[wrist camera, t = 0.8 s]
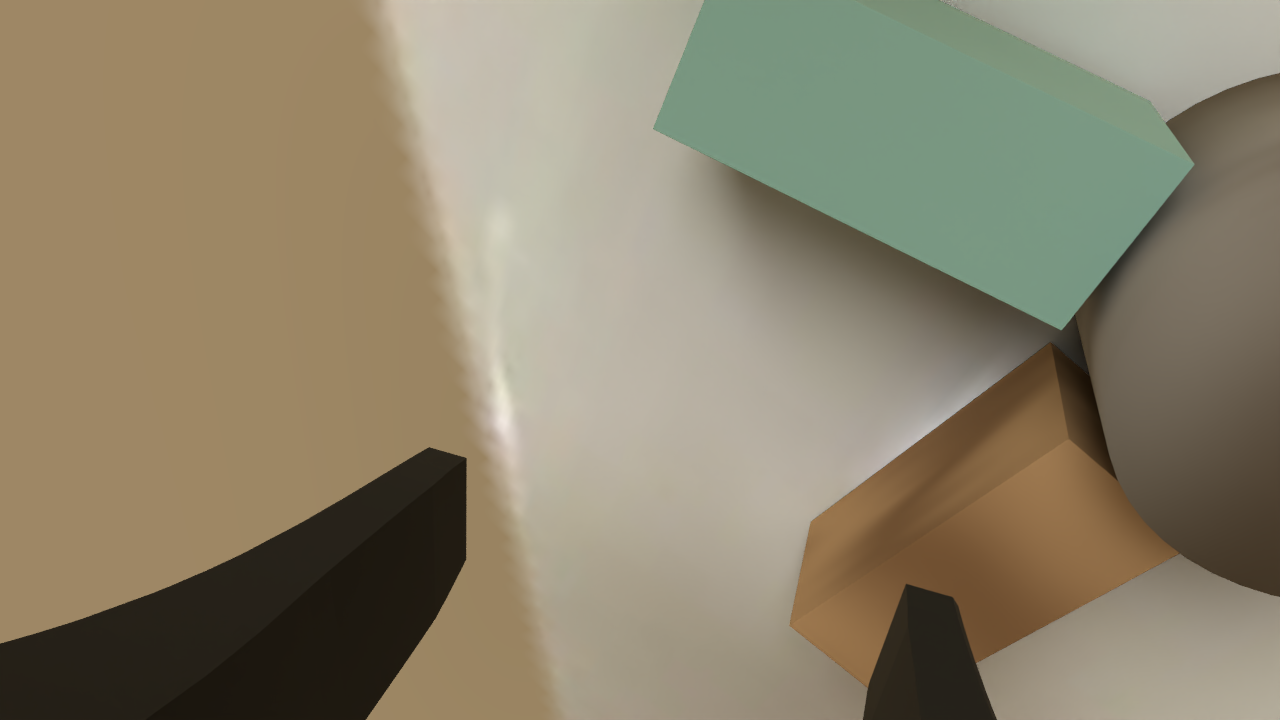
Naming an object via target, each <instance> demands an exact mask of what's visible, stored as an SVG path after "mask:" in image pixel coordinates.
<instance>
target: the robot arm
mask: <svg viewBox="0 0 1280 720" xmlns="http://www.w3.org/2000/svg"><path fill="white" fill-rule="evenodd" d="M465 561H466V458H465V457H461V456H457V455H454V454H450V453H447V452H444V451H440V450H436V449H433V448H430V447H429V448H427V449H425V450H424V451H422V452H420V453H418V454H417V455H415V456H413V457H412V458H410V459H408V460H407V461H405V462H403V463H402V464H400V465H399V466H397V467H395V468H393V469H392V470H390V471H388V472H387V473H385V474H383V475H382V476H380V477H378V478H377V479H375V480H373V481H372V482H370V483H368V484H367V485H365V486H363V487H362V488H360V489H359V490H357V491H355V492H353V493H352V494H350V495H348V496H347V497H345V498H343V499H342V500H340V501H338V502H336V503H335V504H333V505H331V506H330V507H328V508H326V509H324V510H323V511H321V512H319V513H317V514H316V515H314V516H312V517H311V518H309V519H307V520H305V521H304V522H302V523H300V524H298V525H296V526H294V527H293V528H291V529H289V530H287V531H285V532H283V533H281V534H279V535H277V536H275V537H274V538H272V539H270V540H268V541H266V542H264V543H262V544H260V545H258V546H256V547H254V548H253V549H251V550H249V551H247V552H245V553H243V554H241V555H239V556H237V557H235V558H233V559H231V560H229V561H226V562H225V563H222V564H220V565H218V566H216V567H213V568H211V569H209V570H207V571H205V572H203V573H200V574H198V575H195V576H193V577H191V578H188V579H186V580H184V581H181V582H179V583H177V584H174V585H172V586H170V587H167V588H165V589H162V590H160V591H157V592H155V593H152V594H149V595H147V596H144V597H141V598H138V599H136V600H133V601H130V602H127V603H125V604H122V605H119V606H117V607H114V608H111V609H108V610H105V611H103V612H100V613H97V614H94V615H92V616H89V617H86V618H83V619H80V620H78V621H74V622H72V623H68V624H65V625H62V626H58V627H56V628H52V629H49V630H46V631H43V632H39V633H36V634H33V635H29V636H26V637H22V638H19V639H15V640H12V641H8V642H4V643H1V644H0V720H366V719H367V717H368V715H369V714H370V713H371V711H372V710H373V708H374V707H375V706H376V704H377V703H378V701H379V700H380V698H381V697H382V696H383V694H384V693H385V691H386V690H387V688H388V687H389V686H390V684H391V683H392V681H393V680H394V678H395V677H396V675H397V674H398V673H399V671H400V670H401V668H402V667H403V665H404V664H405V662H406V661H407V660H408V658H409V657H410V655H411V654H412V652H413V651H414V649H415V648H416V646H417V645H418V644H419V642H420V641H421V639H422V638H423V636H424V635H425V633H426V632H427V630H428V629H429V627H430V626H431V624H432V623H433V621H434V620H435V618H436V617H437V615H438V613H439V611H440V609H441V607H442V605H443V604H444V602H445V600H446V598H447V596H448V594H449V592H450V590H451V588H452V586H453V584H454V582H455V580H456V578H457V576H458V574H459V572H460V571H461V568H462V567H463V565H464V562H465ZM863 720H997V719H996V717H995V714H994V712H993V709H992V707H991V704H990V701H989V699H988V696H987V693H986V691H985V688H984V685H983V682H982V679H981V677H980V674H979V671H978V668H977V665H976V662H975V659H974V656H973V653H972V650H971V647H970V644H969V641H968V638H967V635H966V631H965V628H964V624H963V621H962V618H961V614H960V610H959V606H958V605H957V603H956V601H955V600H954V598H953V597H951V596H947V595H944V594H940V593H937V592H933V591H930V590H926V589H923V588H919V587H916V586H912V585H909V584H906V585H905V587H904V590H903V593H902V595H901V598H900V601H899V604H898V606H897V609H896V612H895V614H894V617H893V620H892V622H891V625H890V628H889V630H888V633H887V636H886V639H885V641H884V644H883V647H882V649H881V652H880V655H879V657H878V660H877V663H876V665H875V668H874V671H873V674H872V676H871V679H870V682H869V685H868V691H867V698H866V704H865V710H864V717H863Z"/></svg>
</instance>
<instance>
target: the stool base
mask: <svg viewBox="0 0 1280 720" xmlns="http://www.w3.org/2000/svg"><path fill="white" fill-rule="evenodd" d="M1166 125H1167V126H1168V128H1169V129H1170V130H1171V132H1172V133H1173V135H1174V136H1175V137H1176V139H1177V140H1178V142H1179V143H1180V144H1181V146H1182V147H1183V149H1184V150H1185V151H1186V153H1187V154H1188V156H1189V157H1190V158H1191V160H1192V161H1193V163H1194V164H1195V165H1194V166H1193V167H1192V168H1191V170H1190V171H1189V172H1188V173H1187V175H1186V176H1185V177H1184V178H1183V180H1182V181H1181V182H1180V183H1179V185H1178V186H1177V187H1176V188H1175V190H1174V191H1173V192H1172V193H1171V195H1170V196H1169V197H1168V198H1167V200H1166V201H1165V202H1164V203H1163V205H1162V206H1161V207H1160V208H1159V210H1158V211H1157V212H1156V213H1155V215H1154V216H1153V217H1152V218H1151V220H1150V221H1149V222H1148V223H1147V225H1146V226H1145V227H1144V228H1143V230H1142V231H1141V232H1140V233H1139V235H1138V236H1137V237H1136V238H1135V240H1134V241H1133V242H1132V243H1131V245H1130V246H1129V247H1128V248H1127V250H1126V251H1125V252H1124V253H1123V254H1122V256H1121V257H1120V258H1119V259H1118V261H1117V262H1116V263H1115V264H1114V266H1113V267H1112V268H1111V269H1110V271H1109V272H1108V273H1107V274H1106V276H1105V277H1104V278H1103V279H1102V281H1101V282H1100V283H1099V284H1098V286H1097V287H1096V288H1095V289H1094V291H1093V292H1092V293H1091V294H1090V296H1089V297H1088V298H1087V299H1086V301H1085V302H1084V303H1083V304H1082V306H1081V307H1080V308H1079V309H1078V311H1077V312H1076V313H1075V317H1076V321H1077V325H1078V329H1079V333H1080V338H1081V342H1082V346H1083V350H1084V354H1085V358H1086V362H1087V366H1088V370H1089V374H1090V376H1089V375H1088V374H1087V373H1086V372H1084V371H1083V370H1082V369H1081V368H1080V367H1079V366H1078V365H1076V364H1075V363H1074V362H1073V361H1072V360H1071V359H1070V358H1068V357H1067V356H1066V355H1065V354H1064V353H1063V352H1062V351H1060V350H1059V349H1058V348H1057V347H1056V346H1055V345H1054V344H1052V343H1051V342H1050V343H1049V344H1048V345H1046V346H1045V347H1044V348H1042V349H1041V350H1040V351H1038V352H1037V353H1036V354H1034V355H1033V356H1032V357H1030V358H1029V359H1028V360H1026V361H1025V362H1024V363H1022V364H1021V365H1020V366H1018V367H1017V368H1016V369H1014V370H1013V371H1012V372H1010V373H1009V374H1008V375H1006V376H1005V377H1004V378H1002V379H1001V380H1000V381H998V382H997V383H996V384H994V385H993V386H992V387H990V388H989V389H988V390H986V391H985V392H984V393H982V394H981V395H980V396H978V397H977V398H976V399H974V400H973V401H972V402H970V403H969V404H968V405H966V406H965V407H964V408H962V409H961V410H960V411H958V412H957V413H956V414H954V415H953V416H952V417H950V418H949V419H948V420H946V421H945V422H944V423H942V424H941V425H940V426H938V427H937V428H936V429H934V430H933V431H932V432H930V433H929V434H928V435H926V436H925V437H924V438H922V439H921V440H920V441H918V442H917V443H916V444H914V445H913V446H912V447H910V448H909V449H908V450H906V451H905V452H904V453H902V454H901V455H900V456H898V457H897V458H896V459H894V460H893V461H892V462H890V463H889V464H888V465H886V466H885V467H884V468H882V469H881V470H880V471H878V472H877V473H876V474H874V475H873V476H872V477H870V478H869V479H868V480H866V481H865V482H864V483H862V484H861V485H860V486H858V487H857V488H856V489H854V490H853V491H851V492H850V493H849V494H847V495H846V496H845V497H843V498H842V499H841V500H839V501H838V502H837V503H835V504H834V505H833V506H831V507H830V508H829V509H827V510H826V511H825V512H823V513H822V514H821V515H819V516H818V517H817V518H815V519H814V520H813V521H811V524H810V529H809V533H808V538H807V543H806V548H805V553H804V557H803V562H802V567H801V572H800V577H799V581H798V586H797V591H796V596H795V601H794V605H793V610H792V615H791V620H790V625H789V626H791V627H792V628H793V629H795V630H796V631H797V632H798V633H800V634H801V635H802V636H803V637H805V638H806V639H807V640H808V641H810V642H811V643H812V644H813V645H815V646H816V647H817V648H818V649H820V650H821V651H822V652H823V653H825V654H826V655H827V656H828V657H830V658H831V659H832V660H833V661H835V662H836V663H837V664H838V665H840V666H841V667H842V668H844V669H845V670H846V671H847V672H849V673H850V674H851V675H852V676H854V677H855V678H856V679H857V680H859V681H860V682H861V683H862V684H864V685H865V686H866V687H867V688H868V685H869V682H870V679H871V676H872V674H873V671H874V668H875V665H876V663H877V660H878V657H879V655H880V652H881V649H882V647H883V644H884V641H885V639H886V636H887V633H888V630H889V628H890V625H891V622H892V620H893V617H894V614H895V612H896V609H897V606H898V604H899V601H900V598H901V595H902V593H903V590H904V587H905V585H906V584H909V585H912V586H916V587H919V588H923V589H926V590H930V591H933V592H937V593H940V594H944V595H947V596H951V597H953V598H954V600H955V601H956V603H957V605H958V606H959V610H960V614H961V618H962V621H963V624H964V628H965V631H966V635H967V638H968V641H969V644H970V647H971V650H972V653H973V656H974V659H975V662H976V663H977V662H979V661H981V660H983V659H984V658H986V657H988V656H990V655H992V654H994V653H996V652H997V651H999V650H1001V649H1003V648H1005V647H1007V646H1009V645H1010V644H1012V643H1014V642H1016V641H1018V640H1020V639H1022V638H1023V637H1025V636H1027V635H1029V634H1031V633H1033V632H1035V631H1036V630H1038V629H1040V628H1042V627H1044V626H1046V625H1048V624H1049V623H1051V622H1053V621H1055V620H1057V619H1059V618H1061V617H1062V616H1064V615H1066V614H1068V613H1070V612H1072V611H1074V610H1075V609H1077V608H1079V607H1081V606H1083V605H1085V604H1087V603H1088V602H1090V601H1092V600H1094V599H1096V598H1098V597H1100V596H1101V595H1103V594H1105V593H1107V592H1109V591H1111V590H1112V589H1114V588H1116V587H1118V586H1120V585H1122V584H1124V583H1125V582H1127V581H1129V580H1131V579H1133V578H1135V577H1137V576H1138V575H1140V574H1142V573H1144V572H1146V571H1148V570H1150V569H1151V568H1153V567H1155V566H1157V565H1159V564H1161V563H1163V562H1164V561H1166V560H1168V559H1170V558H1172V557H1174V556H1176V555H1177V554H1179V553H1180V554H1182V555H1183V556H1184V557H1186V558H1187V559H1189V560H1191V561H1193V562H1194V563H1196V564H1198V565H1200V566H1201V567H1203V568H1205V569H1206V570H1208V571H1210V572H1212V573H1214V574H1216V575H1219V576H1221V577H1223V578H1225V579H1228V580H1230V581H1232V582H1235V583H1237V584H1239V585H1242V586H1245V587H1248V588H1251V589H1254V590H1258V591H1261V592H1264V593H1267V594H1270V595H1274V596H1279V597H1280V73H1279V74H1275V75H1270V76H1266V77H1262V78H1258V79H1255V80H1252V81H1249V82H1247V83H1244V84H1241V85H1238V86H1235V87H1232V88H1229V89H1227V90H1225V91H1222V92H1220V93H1218V94H1216V95H1214V96H1212V97H1210V98H1208V99H1205V100H1203V101H1201V102H1199V103H1197V104H1195V105H1194V106H1192V107H1190V108H1189V109H1187V110H1185V111H1184V112H1182V113H1180V114H1179V115H1177V116H1175V117H1174V118H1172V119H1170V120H1169V121H1168V122H1166Z"/></svg>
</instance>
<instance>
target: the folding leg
mask: <svg viewBox="0 0 1280 720" xmlns="http://www.w3.org/2000/svg"><path fill="white" fill-rule="evenodd" d="M653 129H654V130H656V131H658V132H660V133H662V134H664V135H666V136H668V137H670V138H672V139H674V140H676V141H678V142H680V143H682V144H684V145H686V146H689V147H691V148H693V149H695V150H697V151H699V152H701V153H703V154H705V155H707V156H709V157H711V158H713V159H715V160H717V161H719V162H721V163H723V164H725V165H727V166H729V167H731V168H733V169H735V170H737V171H739V172H741V173H743V174H745V175H747V176H749V177H751V178H753V179H755V180H757V181H759V182H761V183H764V184H766V185H768V186H770V187H772V188H774V189H776V190H778V191H780V192H782V193H784V194H786V195H788V196H790V197H792V198H794V199H796V200H798V201H800V202H802V203H804V204H806V205H808V206H810V207H812V208H814V209H816V210H818V211H820V212H822V213H824V214H826V215H828V216H830V217H832V218H834V219H836V220H839V221H841V222H843V223H845V224H847V225H849V226H851V227H853V228H855V229H857V230H859V231H861V232H863V233H865V234H867V235H869V236H871V237H873V238H875V239H877V240H879V241H881V242H883V243H885V244H887V245H889V246H891V247H893V248H895V249H897V250H899V251H901V252H903V253H905V254H907V255H909V256H912V257H914V258H916V259H918V260H920V261H922V262H924V263H926V264H928V265H930V266H932V267H934V268H936V269H938V270H940V271H942V272H944V273H946V274H948V275H950V276H952V277H954V278H956V279H958V280H960V281H962V282H964V283H966V284H968V285H970V286H972V287H974V288H976V289H978V290H980V291H982V292H984V293H987V294H989V295H991V296H993V297H995V298H997V299H999V300H1001V301H1003V302H1005V303H1007V304H1009V305H1011V306H1013V307H1015V308H1017V309H1019V310H1021V311H1023V312H1025V313H1027V314H1029V315H1031V316H1033V317H1035V318H1037V319H1039V320H1041V321H1043V322H1045V323H1047V324H1049V325H1051V326H1053V327H1055V328H1057V329H1059V330H1062V329H1063V328H1064V327H1065V326H1066V324H1067V323H1068V322H1069V321H1070V319H1071V318H1072V317H1073V316H1074V314H1075V313H1076V312H1077V311H1078V309H1079V308H1080V307H1081V306H1082V304H1083V303H1084V302H1085V301H1086V299H1087V298H1088V297H1089V296H1090V294H1091V293H1092V292H1093V291H1094V289H1095V288H1096V287H1097V286H1098V284H1099V283H1100V282H1101V281H1102V279H1103V278H1104V277H1105V276H1106V274H1107V273H1108V272H1109V271H1110V269H1111V268H1112V267H1113V266H1114V264H1115V263H1116V262H1117V261H1118V259H1119V258H1120V257H1121V256H1122V254H1123V253H1124V252H1125V251H1126V250H1127V248H1128V247H1129V246H1130V245H1131V243H1132V242H1133V241H1134V240H1135V238H1136V237H1137V236H1138V235H1139V233H1140V232H1141V231H1142V230H1143V228H1144V227H1145V226H1146V225H1147V223H1148V222H1149V221H1150V220H1151V218H1152V217H1153V216H1154V215H1155V213H1156V212H1157V211H1158V210H1159V208H1160V207H1161V206H1162V205H1163V203H1164V202H1165V201H1166V200H1167V198H1168V197H1169V196H1170V195H1171V193H1172V192H1173V191H1174V190H1175V188H1176V187H1177V186H1178V185H1179V183H1180V182H1181V181H1182V180H1183V178H1184V177H1185V176H1186V175H1187V173H1188V172H1189V171H1190V170H1191V168H1192V167H1193V166H1194V165H1195V164H1194V163H1193V161H1192V160H1191V158H1190V157H1189V156H1188V154H1187V153H1186V151H1185V150H1184V149H1183V147H1182V146H1181V144H1180V143H1179V142H1178V140H1177V139H1176V137H1175V136H1174V135H1173V133H1172V132H1171V130H1170V129H1169V128H1168V126H1167V125H1166V123H1165V122H1164V121H1163V119H1162V118H1161V116H1160V115H1159V114H1158V112H1157V111H1156V109H1155V108H1154V106H1153V105H1152V104H1151V102H1150V101H1148V100H1146V99H1144V98H1142V97H1140V96H1138V95H1136V94H1134V93H1132V92H1130V91H1127V90H1125V89H1123V88H1121V87H1119V86H1117V85H1115V84H1113V83H1111V82H1109V81H1107V80H1104V79H1102V78H1100V77H1098V76H1096V75H1094V74H1092V73H1090V72H1088V71H1086V70H1084V69H1081V68H1079V67H1077V66H1075V65H1073V64H1071V63H1069V62H1067V61H1065V60H1063V59H1061V58H1058V57H1056V56H1054V55H1052V54H1050V53H1048V52H1046V51H1044V50H1042V49H1040V48H1038V47H1035V46H1033V45H1031V44H1029V43H1027V42H1025V41H1023V40H1021V39H1019V38H1017V37H1015V36H1012V35H1010V34H1008V33H1006V32H1004V31H1002V30H1000V29H998V28H996V27H994V26H992V25H989V24H987V23H985V22H983V21H981V20H979V19H977V18H975V17H973V16H971V15H969V14H966V13H964V12H962V11H960V10H958V9H956V8H954V7H952V6H950V5H948V4H946V3H943V2H941V1H939V0H705V1H704V3H703V6H702V8H701V11H700V13H699V16H698V18H697V21H696V23H695V25H694V28H693V30H692V33H691V35H690V38H689V40H688V43H687V45H686V48H685V50H684V53H683V55H682V58H681V60H680V63H679V65H678V68H677V70H676V73H675V75H674V78H673V80H672V83H671V85H670V88H669V90H668V93H667V95H666V98H665V100H664V103H663V105H662V108H661V110H660V113H659V115H658V118H657V120H656V123H655V125H654V128H653Z"/></svg>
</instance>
